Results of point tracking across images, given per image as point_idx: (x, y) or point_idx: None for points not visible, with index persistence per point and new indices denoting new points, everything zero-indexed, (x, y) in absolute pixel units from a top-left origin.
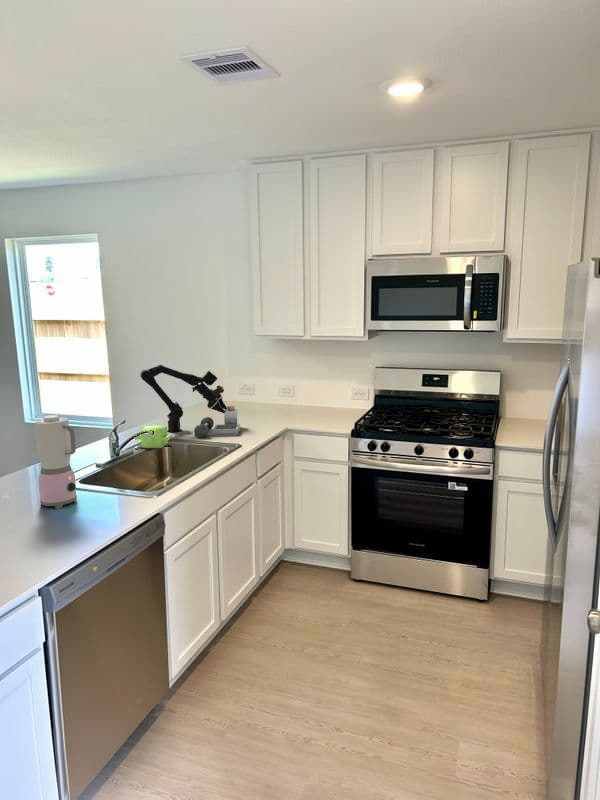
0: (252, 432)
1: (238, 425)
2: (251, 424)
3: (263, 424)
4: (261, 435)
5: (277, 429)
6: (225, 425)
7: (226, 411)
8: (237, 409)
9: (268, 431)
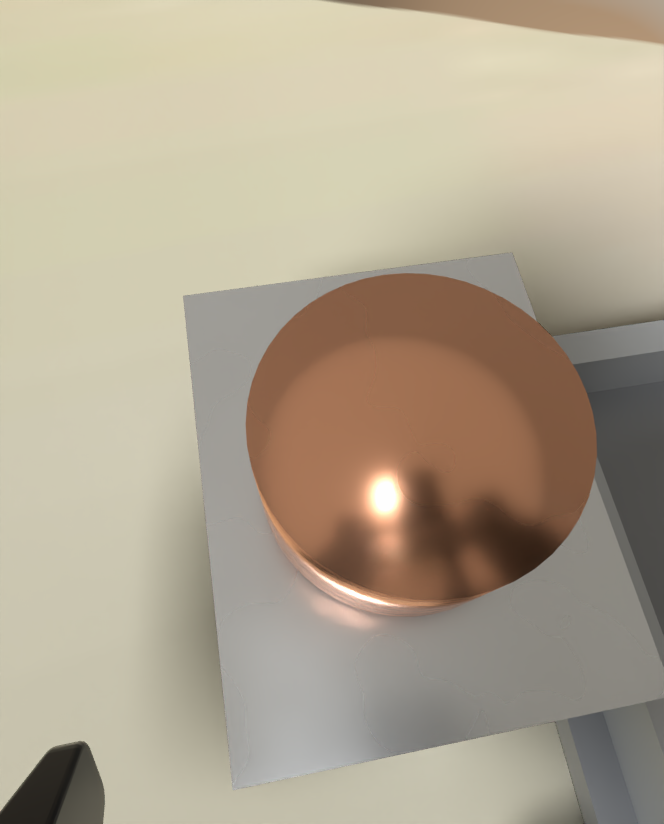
0: (542, 210)
1: (606, 338)
2: (30, 332)
3: (38, 182)
4: (652, 97)
5: (320, 10)
6: (647, 605)
7: (630, 591)
8: (253, 291)
9: (439, 69)
